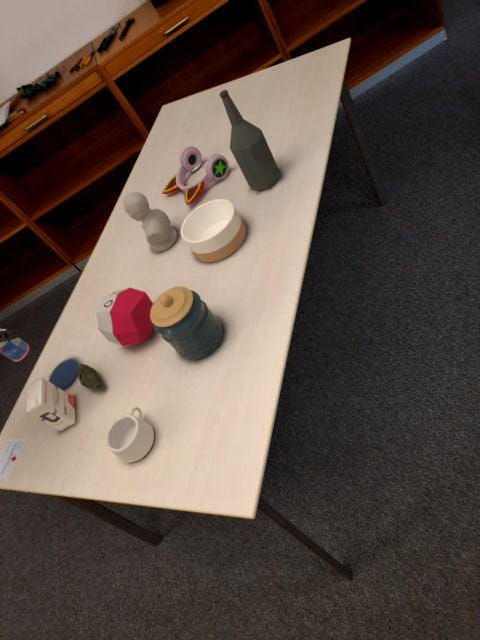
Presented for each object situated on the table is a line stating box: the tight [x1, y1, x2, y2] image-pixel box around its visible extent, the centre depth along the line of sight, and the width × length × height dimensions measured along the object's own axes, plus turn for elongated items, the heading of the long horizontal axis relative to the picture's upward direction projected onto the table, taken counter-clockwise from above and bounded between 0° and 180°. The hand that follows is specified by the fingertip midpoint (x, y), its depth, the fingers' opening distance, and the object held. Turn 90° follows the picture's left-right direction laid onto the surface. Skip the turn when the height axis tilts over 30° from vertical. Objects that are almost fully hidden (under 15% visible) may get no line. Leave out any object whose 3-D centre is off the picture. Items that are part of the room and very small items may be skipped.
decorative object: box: [96, 287, 154, 347], centre depth 117 cm, size 15×15×15 cm
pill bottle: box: [0, 327, 30, 362], centre depth 109 cm, size 6×5×10 cm
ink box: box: [25, 377, 76, 432], centre depth 112 cm, size 8×5×12 cm, turn 20°
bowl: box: [180, 198, 247, 263], centre depth 128 cm, size 17×17×8 cm
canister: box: [150, 285, 224, 361], centre depth 104 cm, size 13×13×18 cm
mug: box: [105, 406, 155, 463], centre depth 99 cm, size 12×10×6 cm
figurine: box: [122, 191, 178, 253], centre depth 136 cm, size 9×13×20 cm
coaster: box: [48, 358, 80, 391], centre depth 125 cm, size 10×10×1 cm
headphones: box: [161, 146, 230, 207], centre depth 152 cm, size 20×10×20 cm
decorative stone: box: [77, 363, 104, 390], centre depth 117 cm, size 11×8×5 cm
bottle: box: [219, 89, 280, 192], centre depth 128 cm, size 10×10×30 cm
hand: (7, 336), depth 109 cm, fingers closed on pill bottle, 5 cm apart
